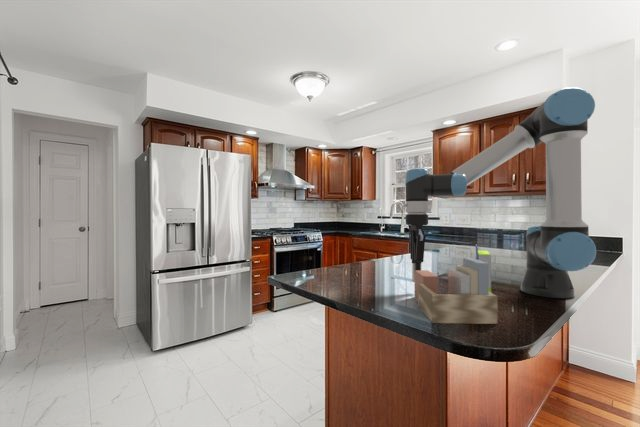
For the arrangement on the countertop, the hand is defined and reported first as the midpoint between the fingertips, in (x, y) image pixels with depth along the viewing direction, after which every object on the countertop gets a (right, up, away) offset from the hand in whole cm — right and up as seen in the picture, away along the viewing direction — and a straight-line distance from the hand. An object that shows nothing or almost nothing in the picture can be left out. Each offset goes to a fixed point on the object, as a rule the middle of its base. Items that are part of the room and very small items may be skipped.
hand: (416, 281), depth 110 cm
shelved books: (+7, -4, -24) cm, 26 cm away
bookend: (+4, -4, -25) cm, 25 cm away
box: (+19, -4, -8) cm, 21 cm away
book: (0, -4, -11) cm, 11 cm away
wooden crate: (+3, -4, -24) cm, 24 cm away
